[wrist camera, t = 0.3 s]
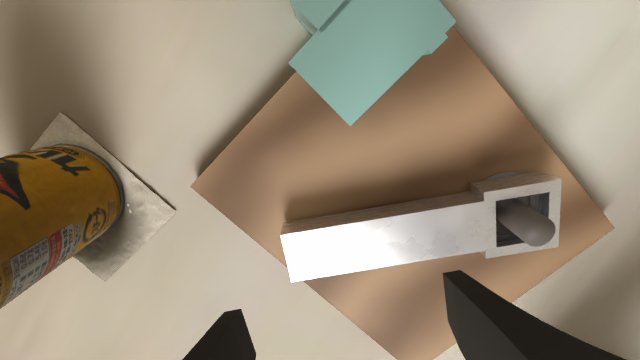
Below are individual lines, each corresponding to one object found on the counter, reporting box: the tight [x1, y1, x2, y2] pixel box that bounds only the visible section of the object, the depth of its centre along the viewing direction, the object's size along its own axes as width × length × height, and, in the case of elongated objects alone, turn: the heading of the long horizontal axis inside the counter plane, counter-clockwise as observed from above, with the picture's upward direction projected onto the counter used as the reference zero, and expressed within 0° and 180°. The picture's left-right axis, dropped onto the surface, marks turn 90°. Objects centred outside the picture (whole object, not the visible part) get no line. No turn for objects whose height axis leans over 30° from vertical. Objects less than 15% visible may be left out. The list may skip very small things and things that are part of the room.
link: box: [280, 171, 562, 282], centre depth 19 cm, size 15×4×2 cm, turn 100°
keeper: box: [288, 0, 456, 126], centre depth 16 cm, size 6×6×4 cm
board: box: [190, 26, 615, 360], centre depth 18 cm, size 20×16×4 cm
